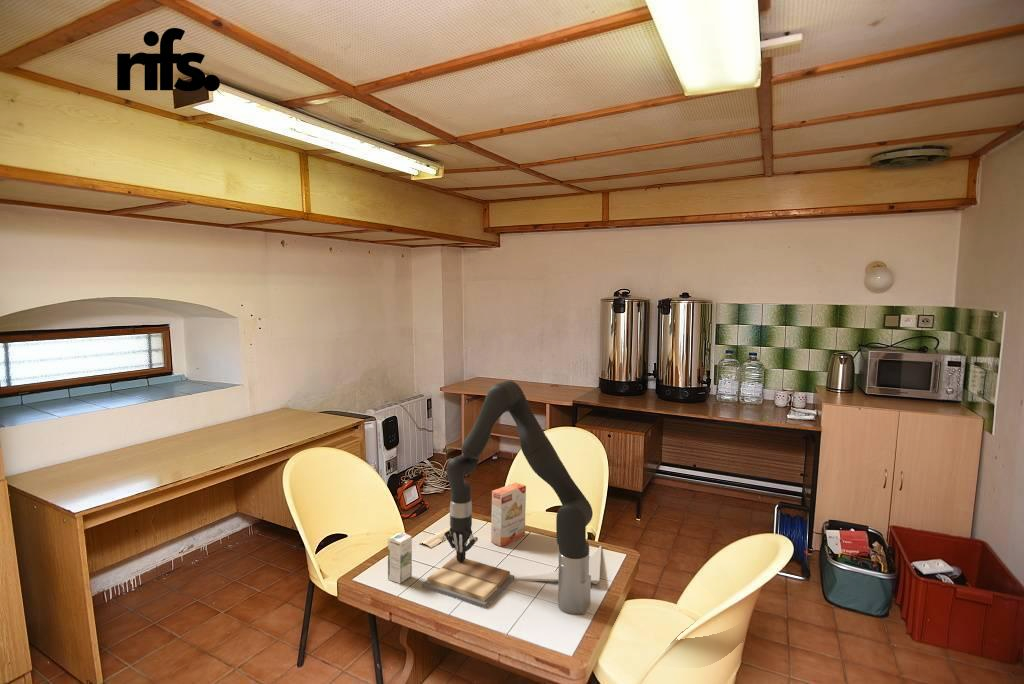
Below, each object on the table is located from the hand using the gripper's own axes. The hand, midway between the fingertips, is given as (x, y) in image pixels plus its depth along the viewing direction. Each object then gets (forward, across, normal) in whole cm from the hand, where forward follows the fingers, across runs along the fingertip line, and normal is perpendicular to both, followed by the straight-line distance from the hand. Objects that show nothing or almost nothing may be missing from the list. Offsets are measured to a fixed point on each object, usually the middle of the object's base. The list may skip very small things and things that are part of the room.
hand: (460, 560), depth 179 cm
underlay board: (+3, -7, +6) cm, 10 cm away
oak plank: (+2, -7, +10) cm, 12 cm away
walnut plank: (+2, -7, +1) cm, 7 cm away
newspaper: (+4, +20, -19) cm, 28 cm away
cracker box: (+4, -3, -28) cm, 29 cm away
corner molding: (+4, -27, -22) cm, 35 cm away
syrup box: (+4, +15, +14) cm, 21 cm away
